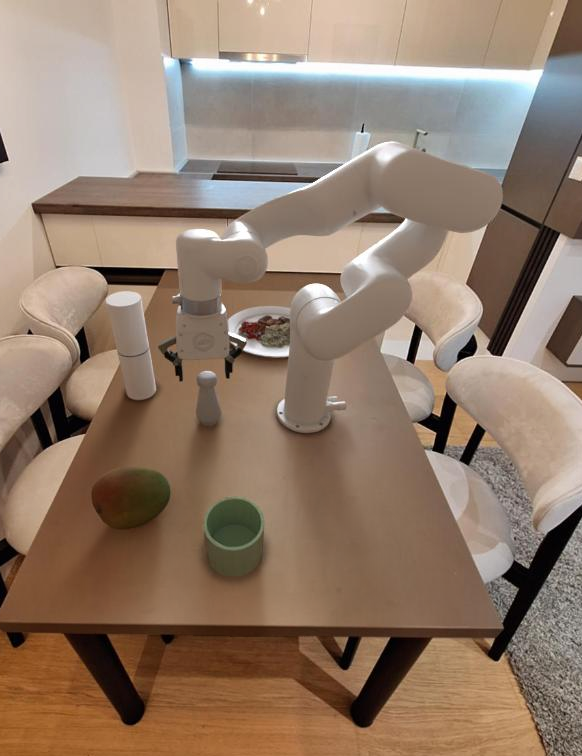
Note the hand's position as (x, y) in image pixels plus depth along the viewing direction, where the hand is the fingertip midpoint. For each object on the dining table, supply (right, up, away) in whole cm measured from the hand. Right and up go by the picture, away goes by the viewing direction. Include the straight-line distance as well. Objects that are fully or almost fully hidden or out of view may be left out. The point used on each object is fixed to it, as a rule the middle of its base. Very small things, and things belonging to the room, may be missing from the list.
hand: (204, 376), depth 84 cm
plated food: (+16, +14, +39) cm, 44 cm away
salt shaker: (0, -10, +8) cm, 13 cm away
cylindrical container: (-18, -3, +16) cm, 24 cm away
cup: (+7, -29, -17) cm, 34 cm away
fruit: (-11, -25, -11) cm, 29 cm away
